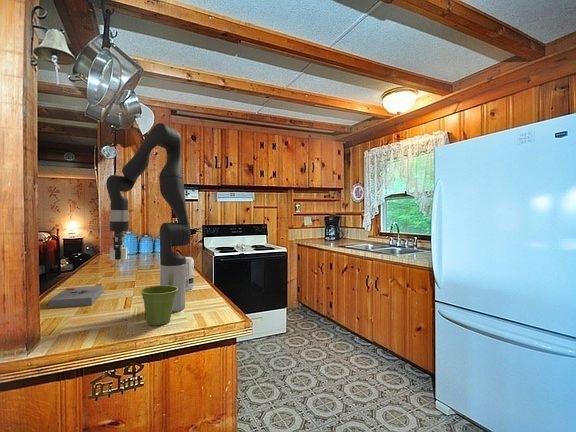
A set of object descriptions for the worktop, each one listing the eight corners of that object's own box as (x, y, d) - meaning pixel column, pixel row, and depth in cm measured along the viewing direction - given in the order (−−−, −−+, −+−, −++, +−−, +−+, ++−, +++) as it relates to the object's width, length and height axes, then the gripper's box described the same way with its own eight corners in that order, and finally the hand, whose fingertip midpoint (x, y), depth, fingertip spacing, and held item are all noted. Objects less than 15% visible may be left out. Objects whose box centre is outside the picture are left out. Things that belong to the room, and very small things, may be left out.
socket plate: (91, 305, 119) (91, 296, 119) (48, 308, 114) (48, 298, 114) (103, 292, 138) (103, 284, 138) (66, 294, 133) (67, 286, 133)
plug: (125, 264, 134) (125, 248, 134) (110, 264, 132) (110, 248, 132) (127, 262, 138) (127, 247, 138) (112, 263, 136) (112, 247, 136)
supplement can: (172, 288, 147) (173, 257, 146) (188, 285, 153) (188, 256, 152) (180, 291, 141) (181, 259, 141) (196, 288, 147) (197, 258, 147)
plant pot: (176, 327, 98) (177, 292, 98) (136, 330, 95) (136, 294, 95) (178, 315, 110) (179, 284, 110) (143, 317, 106) (143, 285, 106)
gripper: (126, 220, 129) (125, 260, 130) (131, 220, 143) (130, 256, 143) (106, 220, 127) (105, 261, 127) (113, 220, 140) (112, 256, 140)
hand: (118, 258), depth 135 cm, fingers closed on plug, 4 cm apart
